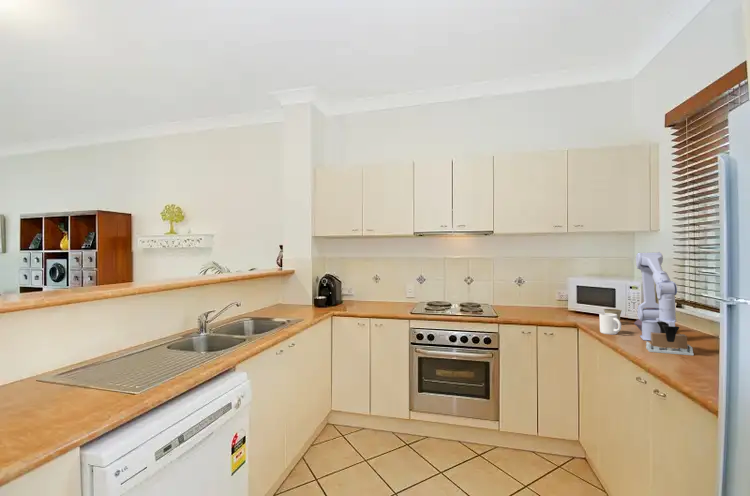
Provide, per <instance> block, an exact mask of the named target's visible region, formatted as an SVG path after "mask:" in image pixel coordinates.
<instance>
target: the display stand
mask: <svg viewBox="0 0 750 496" xmlns="http://www.w3.org/2000/svg"><path fill="white" fill-rule="evenodd" d="M645 342H646V343H645V345H646V346H645V348H646V350H647V351H648V352H649V353H659V354H661V353H662V354H670V355H671V354H673V355H684V356H694V350H693V346H691V344H688V343H687V349H682V348H669V347H656V346H652V345H651V342H650V341H645Z"/></svg>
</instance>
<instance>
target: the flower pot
mask: <svg viewBox="0 0 750 496" xmlns="http://www.w3.org/2000/svg"><path fill="white" fill-rule="evenodd" d="M603 312H604V313H612V314H617V319H618V320H619V321H620V322H621V320H620V319H621V314H622V312H623V310H622V309H618V308H617V309H616V308H604V309H603Z"/></svg>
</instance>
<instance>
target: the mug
mask: <svg viewBox="0 0 750 496" xmlns="http://www.w3.org/2000/svg"><path fill="white" fill-rule="evenodd" d="M598 315H599V318H598V319H599V332H600V333H601V334H603V335H611V336H612V335H613V336H614V335H617V334H618V333H619V332H620V331H621V329H622V322H621V320H620V321H619V320H618V319H617V314H612V313H605V312H601V313H600V312H599V314H598Z"/></svg>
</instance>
